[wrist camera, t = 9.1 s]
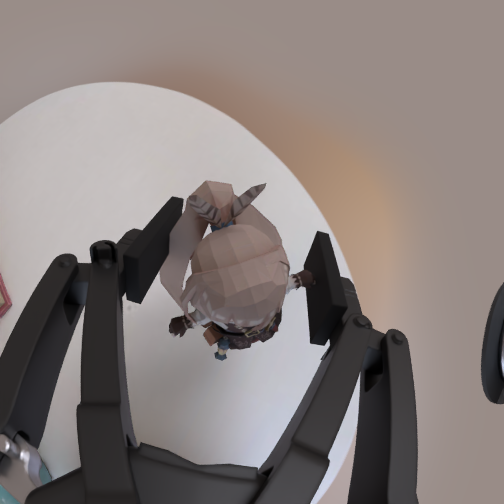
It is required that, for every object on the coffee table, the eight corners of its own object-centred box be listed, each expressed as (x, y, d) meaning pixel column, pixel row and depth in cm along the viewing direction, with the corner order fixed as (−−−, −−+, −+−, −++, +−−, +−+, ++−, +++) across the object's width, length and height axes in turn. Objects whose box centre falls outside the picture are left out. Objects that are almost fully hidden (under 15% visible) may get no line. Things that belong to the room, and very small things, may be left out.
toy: (201, 379, 19) (94, 350, 6) (170, 282, 23) (85, 148, 10) (312, 336, 21) (399, 236, 7) (269, 247, 24) (279, 89, 11)
